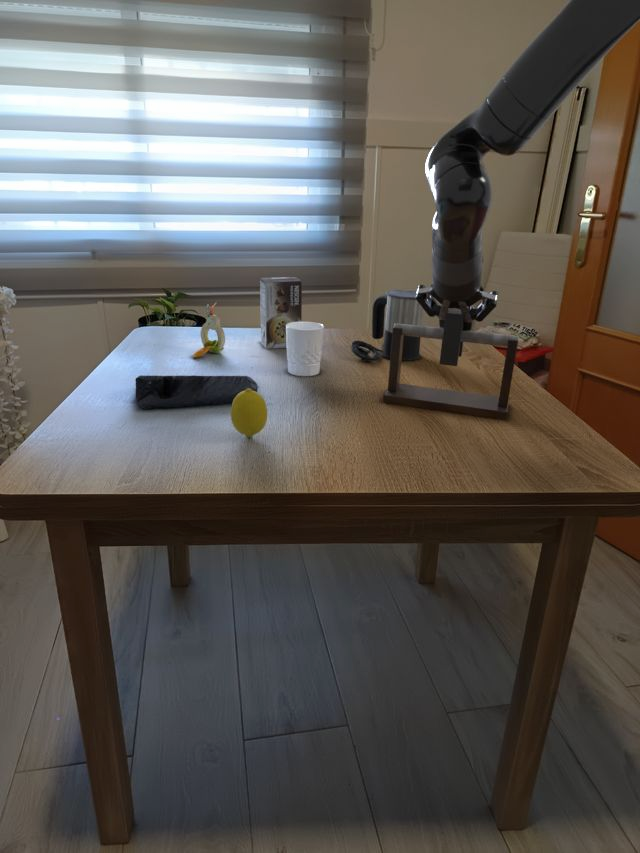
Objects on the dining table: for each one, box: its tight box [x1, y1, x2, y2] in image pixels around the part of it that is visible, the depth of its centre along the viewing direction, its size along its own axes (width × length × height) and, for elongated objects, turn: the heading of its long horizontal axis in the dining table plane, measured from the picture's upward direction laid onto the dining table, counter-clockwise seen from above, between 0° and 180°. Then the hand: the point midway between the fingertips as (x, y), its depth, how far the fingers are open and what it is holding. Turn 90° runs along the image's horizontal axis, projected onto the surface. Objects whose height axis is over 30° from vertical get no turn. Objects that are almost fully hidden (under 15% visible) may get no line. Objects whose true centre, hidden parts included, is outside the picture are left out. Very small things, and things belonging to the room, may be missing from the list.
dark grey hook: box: [439, 308, 464, 367], centre depth 101 cm, size 3×8×9 cm, turn 161°
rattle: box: [192, 301, 226, 359], centre depth 131 cm, size 8×8×12 cm
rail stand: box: [382, 323, 520, 421], centre depth 104 cm, size 22×8×14 cm, turn 71°
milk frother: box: [350, 289, 425, 362], centre depth 132 cm, size 14×16×15 cm
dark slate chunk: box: [135, 374, 259, 410], centre depth 105 cm, size 15×22×5 cm
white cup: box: [286, 320, 325, 377], centre depth 120 cm, size 8×8×10 cm
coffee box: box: [259, 276, 303, 350], centre depth 139 cm, size 9×6×16 cm
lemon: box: [230, 388, 268, 439], centre depth 88 cm, size 6×6×8 cm
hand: (456, 327), depth 103 cm, fingers closed on dark grey hook, 3 cm apart
